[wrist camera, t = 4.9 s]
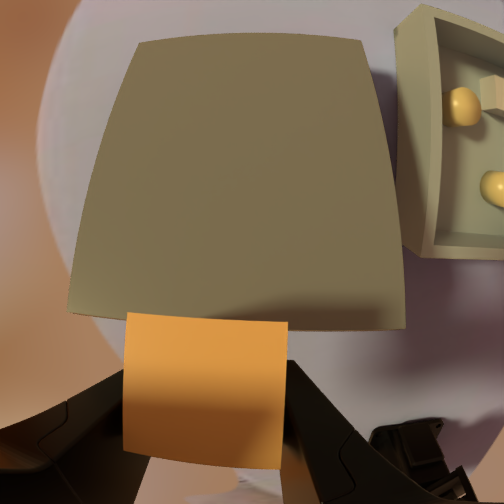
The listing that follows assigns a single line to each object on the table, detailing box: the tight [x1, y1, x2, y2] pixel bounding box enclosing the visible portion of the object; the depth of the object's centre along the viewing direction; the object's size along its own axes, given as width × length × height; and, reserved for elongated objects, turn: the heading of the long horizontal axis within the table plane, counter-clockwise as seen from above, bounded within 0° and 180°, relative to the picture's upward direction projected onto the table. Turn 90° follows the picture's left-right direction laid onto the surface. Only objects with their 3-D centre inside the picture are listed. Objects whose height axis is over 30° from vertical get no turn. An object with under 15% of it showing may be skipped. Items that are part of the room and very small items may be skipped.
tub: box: [394, 4, 504, 260], centre depth 13 cm, size 12×10×4 cm
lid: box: [67, 33, 406, 470], centre depth 9 cm, size 15×10×5 cm
